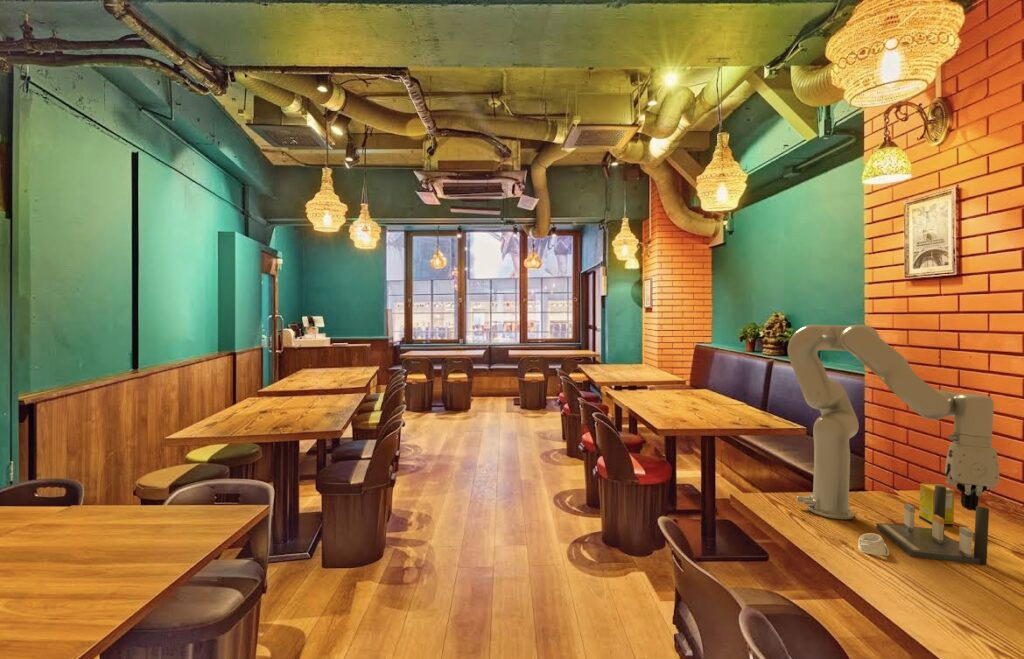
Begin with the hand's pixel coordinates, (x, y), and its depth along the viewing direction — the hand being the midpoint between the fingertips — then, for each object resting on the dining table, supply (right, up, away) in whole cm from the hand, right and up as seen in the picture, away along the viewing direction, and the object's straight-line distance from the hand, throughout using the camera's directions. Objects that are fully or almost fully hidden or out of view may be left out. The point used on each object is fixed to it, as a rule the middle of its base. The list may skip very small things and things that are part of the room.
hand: (969, 508), depth 132 cm
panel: (-10, -11, +2) cm, 15 cm away
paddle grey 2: (-7, -10, -6) cm, 13 cm away
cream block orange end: (-7, -9, +2) cm, 12 cm away
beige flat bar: (-8, -9, +10) cm, 16 cm away
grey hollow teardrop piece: (-27, -11, -2) cm, 29 cm away
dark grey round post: (-2, -11, +1) cm, 11 cm away
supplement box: (+7, -11, +18) cm, 22 cm away
